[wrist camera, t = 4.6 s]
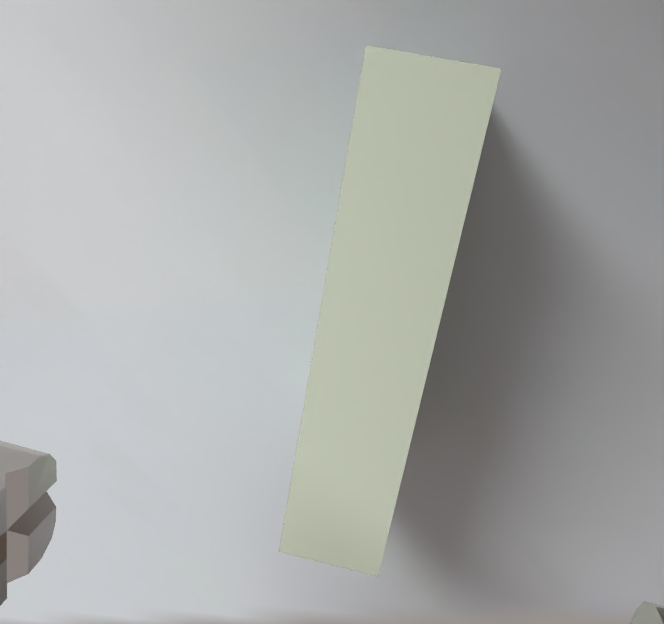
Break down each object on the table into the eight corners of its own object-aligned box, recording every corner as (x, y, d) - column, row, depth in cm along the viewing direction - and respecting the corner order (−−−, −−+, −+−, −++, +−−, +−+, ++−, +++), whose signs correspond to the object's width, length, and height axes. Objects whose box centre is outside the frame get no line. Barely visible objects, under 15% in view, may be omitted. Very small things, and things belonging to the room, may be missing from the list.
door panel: (323, 422, 26) (279, 551, 18) (389, 66, 21) (365, 45, 14) (394, 438, 26) (378, 576, 18) (476, 81, 21) (501, 68, 13)
